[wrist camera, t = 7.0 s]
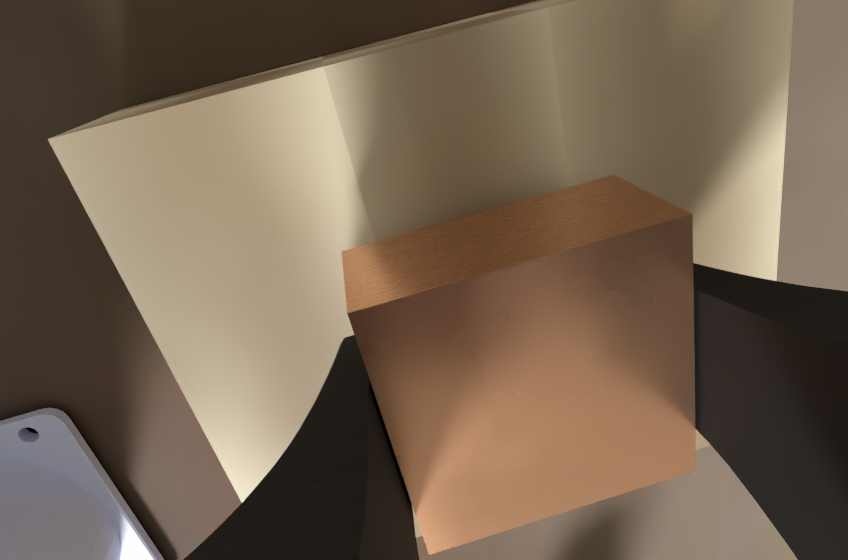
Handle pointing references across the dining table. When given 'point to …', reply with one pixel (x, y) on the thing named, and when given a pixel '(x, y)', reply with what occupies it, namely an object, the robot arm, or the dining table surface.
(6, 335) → the dining table surface
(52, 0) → the dining table surface
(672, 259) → the orange brown block
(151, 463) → the dining table surface
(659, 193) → the holder
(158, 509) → the dining table surface
